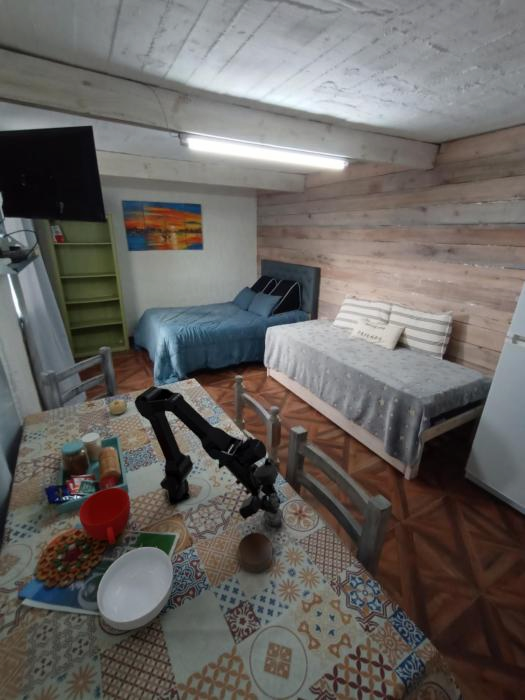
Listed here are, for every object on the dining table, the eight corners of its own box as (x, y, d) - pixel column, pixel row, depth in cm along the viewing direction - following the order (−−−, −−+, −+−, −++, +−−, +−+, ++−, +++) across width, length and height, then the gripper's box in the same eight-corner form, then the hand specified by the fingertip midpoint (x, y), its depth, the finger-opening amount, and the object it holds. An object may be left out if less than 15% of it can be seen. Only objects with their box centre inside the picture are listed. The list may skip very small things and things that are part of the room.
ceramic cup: (89, 572, 82) (81, 545, 78) (84, 524, 95) (77, 499, 92) (141, 547, 88) (136, 521, 85) (129, 505, 102) (124, 481, 98)
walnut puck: (249, 580, 80) (249, 571, 79) (233, 551, 87) (232, 542, 86) (278, 561, 85) (278, 552, 84) (260, 535, 92) (260, 527, 91)
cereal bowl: (177, 627, 71) (174, 607, 68) (96, 654, 66) (89, 633, 64) (174, 556, 86) (172, 538, 83) (108, 574, 82) (103, 555, 79)
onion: (107, 411, 153) (105, 398, 151) (124, 405, 158) (122, 393, 156) (113, 418, 148) (110, 405, 145) (130, 412, 153) (128, 399, 150)
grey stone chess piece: (281, 533, 93) (282, 502, 88) (261, 529, 94) (261, 499, 89) (284, 516, 98) (285, 486, 94) (265, 513, 99) (265, 483, 95)
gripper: (249, 482, 80) (290, 526, 81) (270, 438, 97) (304, 475, 98) (222, 498, 85) (260, 538, 86) (246, 454, 102) (279, 488, 103)
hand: (277, 508), depth 93 cm, fingers closed on grey stone chess piece, 3 cm apart
